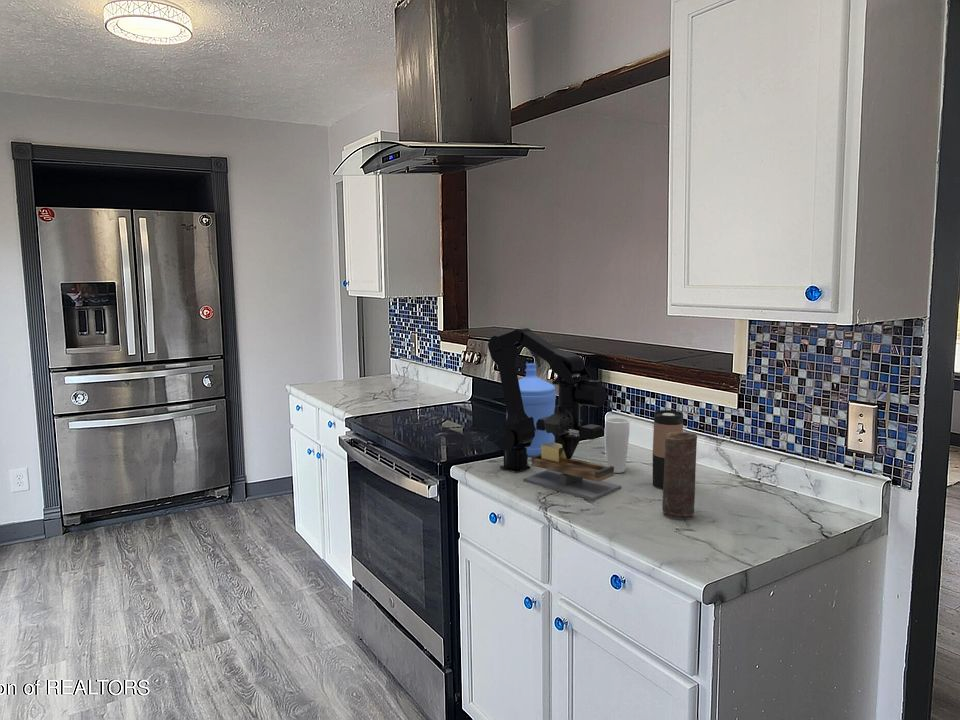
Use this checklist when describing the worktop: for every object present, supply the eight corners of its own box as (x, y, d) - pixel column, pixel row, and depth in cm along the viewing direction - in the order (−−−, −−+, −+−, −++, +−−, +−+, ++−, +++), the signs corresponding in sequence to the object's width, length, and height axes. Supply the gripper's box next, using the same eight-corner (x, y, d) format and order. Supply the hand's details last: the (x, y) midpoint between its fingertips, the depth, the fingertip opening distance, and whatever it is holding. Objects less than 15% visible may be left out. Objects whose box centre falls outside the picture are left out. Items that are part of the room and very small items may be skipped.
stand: (523, 481, 192) (523, 468, 191) (552, 470, 201) (552, 458, 200) (592, 500, 176) (593, 487, 175) (620, 488, 185) (621, 475, 185)
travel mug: (683, 483, 189) (685, 411, 187) (678, 491, 183) (681, 417, 180) (654, 479, 193) (656, 408, 190) (648, 487, 186) (651, 414, 183)
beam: (531, 465, 193) (531, 456, 192) (547, 460, 198) (547, 451, 198) (598, 482, 178) (598, 472, 177) (613, 475, 183) (613, 466, 183)
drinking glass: (628, 475, 197) (629, 423, 195) (604, 473, 198) (605, 422, 196) (628, 468, 203) (629, 417, 201) (604, 466, 205) (605, 417, 202)
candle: (688, 523, 161) (692, 438, 158) (657, 517, 165) (660, 434, 162) (697, 513, 167) (701, 431, 164) (667, 507, 171) (670, 428, 168)
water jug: (537, 460, 212) (537, 369, 208) (496, 451, 221) (496, 364, 217) (564, 449, 224) (565, 363, 220) (524, 441, 233) (524, 359, 229)
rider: (541, 462, 192) (541, 444, 191) (551, 459, 195) (551, 441, 195) (558, 466, 188) (558, 448, 187) (568, 463, 191) (568, 445, 190)
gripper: (523, 402, 187) (523, 458, 189) (580, 411, 174) (579, 472, 176) (548, 396, 195) (548, 450, 197) (605, 404, 182) (604, 462, 184)
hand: (568, 458), depth 188 cm, fingers closed
